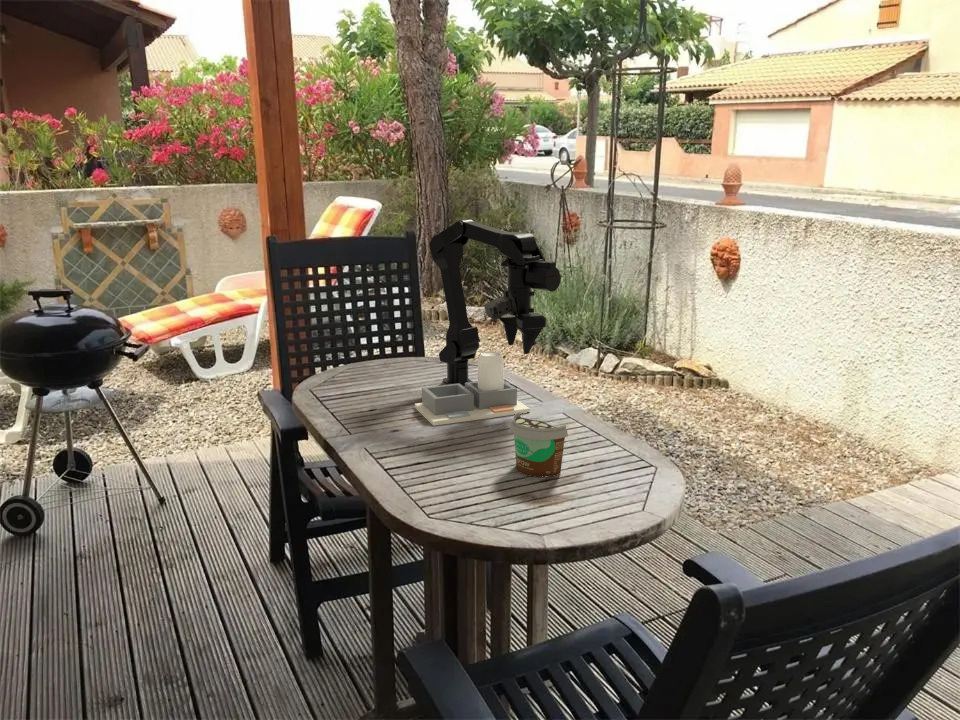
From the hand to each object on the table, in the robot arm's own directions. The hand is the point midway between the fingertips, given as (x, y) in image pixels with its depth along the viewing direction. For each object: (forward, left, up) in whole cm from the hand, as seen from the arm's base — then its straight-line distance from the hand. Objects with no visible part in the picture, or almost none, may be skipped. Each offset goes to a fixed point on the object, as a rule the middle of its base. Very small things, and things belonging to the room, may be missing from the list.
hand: (518, 349), depth 189 cm
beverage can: (+3, -8, -12) cm, 15 cm away
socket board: (+4, -14, -13) cm, 19 cm away
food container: (+43, -17, -13) cm, 48 cm away
